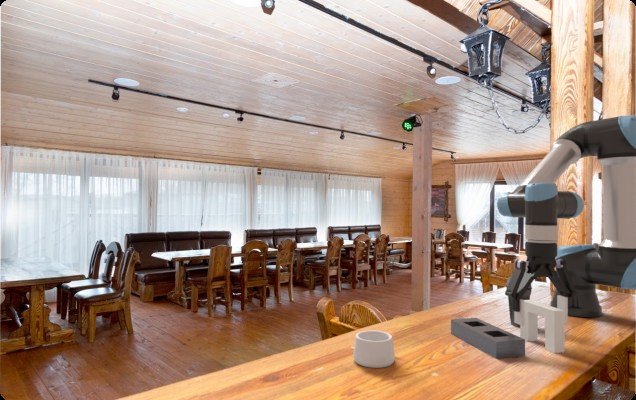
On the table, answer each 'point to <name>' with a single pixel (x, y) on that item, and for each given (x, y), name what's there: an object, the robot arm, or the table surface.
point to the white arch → (552, 325)
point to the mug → (373, 349)
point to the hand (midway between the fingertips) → (541, 322)
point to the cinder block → (488, 338)
